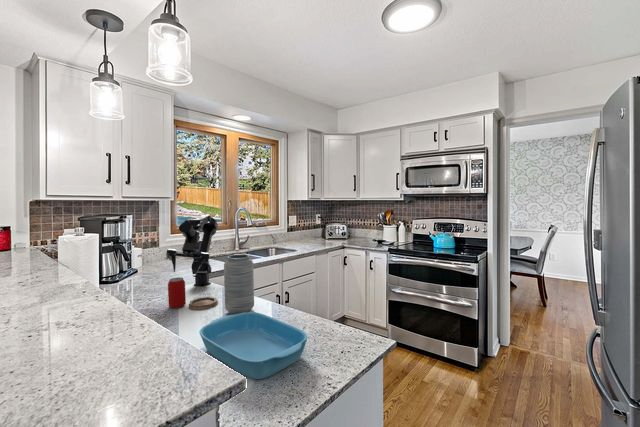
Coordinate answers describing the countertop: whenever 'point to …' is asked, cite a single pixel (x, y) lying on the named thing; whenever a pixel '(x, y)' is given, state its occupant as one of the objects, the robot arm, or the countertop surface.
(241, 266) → the vase
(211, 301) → the coaster
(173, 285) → the beverage can
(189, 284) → the countertop surface
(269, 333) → the casserole dish
